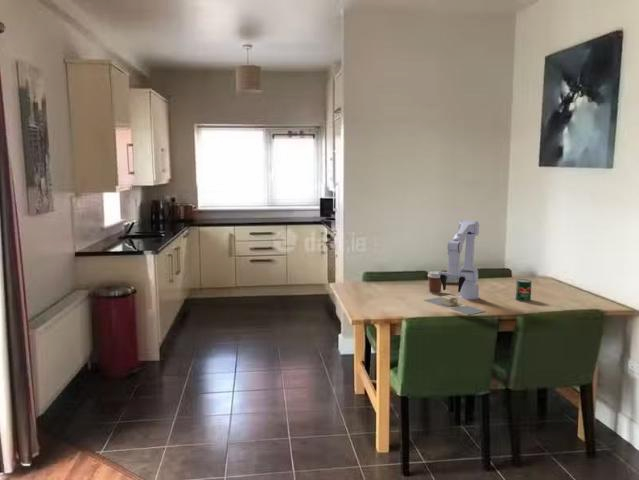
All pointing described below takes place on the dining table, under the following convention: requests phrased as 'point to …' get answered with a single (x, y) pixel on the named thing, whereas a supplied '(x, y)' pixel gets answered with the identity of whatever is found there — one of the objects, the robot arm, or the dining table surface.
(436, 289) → the coffee cup
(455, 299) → the ash block
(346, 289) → the dining table surface
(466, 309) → the slide mat
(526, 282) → the canned tomato
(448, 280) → the tin
